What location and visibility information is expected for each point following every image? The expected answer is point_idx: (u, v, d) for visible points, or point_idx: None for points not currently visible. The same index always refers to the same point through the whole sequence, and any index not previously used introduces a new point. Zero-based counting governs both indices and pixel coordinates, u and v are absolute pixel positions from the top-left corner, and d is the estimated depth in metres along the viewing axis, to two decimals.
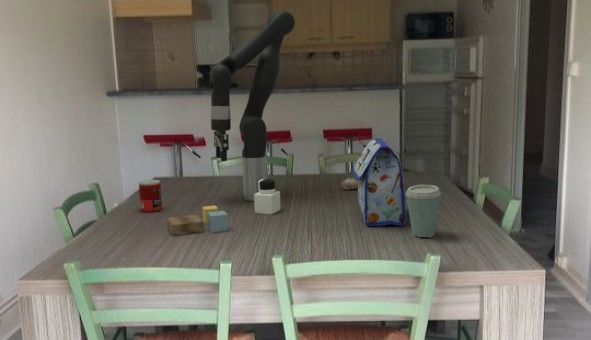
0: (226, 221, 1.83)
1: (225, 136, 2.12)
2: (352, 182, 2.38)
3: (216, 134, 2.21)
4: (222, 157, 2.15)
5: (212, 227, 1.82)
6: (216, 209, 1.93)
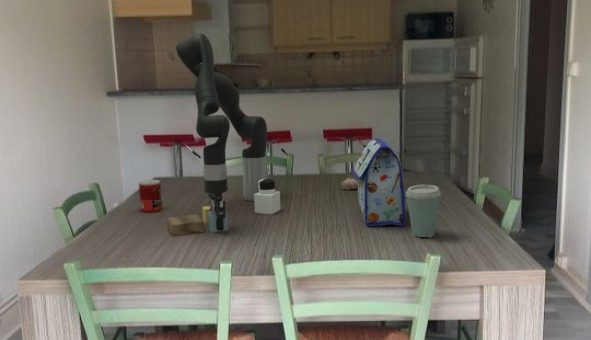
0: (226, 221, 1.83)
1: (221, 204, 1.78)
2: (352, 182, 2.38)
3: (211, 197, 1.86)
4: (218, 226, 1.82)
5: (212, 227, 1.82)
6: None
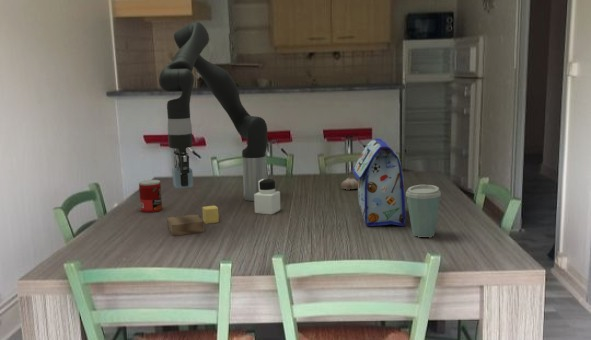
0: (191, 177, 1.81)
1: (185, 158, 1.75)
2: (352, 182, 2.38)
3: (176, 153, 1.84)
4: (182, 182, 1.79)
5: (176, 182, 1.79)
6: (216, 209, 1.93)
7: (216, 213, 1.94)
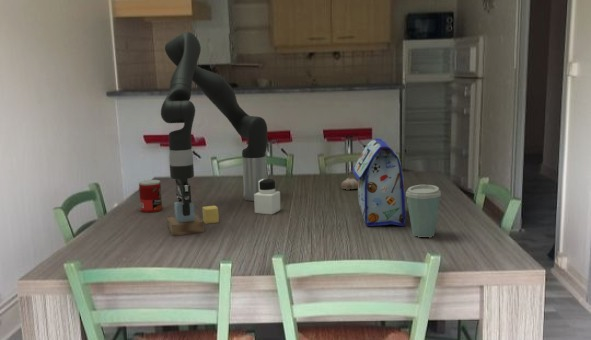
0: (192, 211, 1.83)
1: (186, 187, 1.77)
2: (352, 182, 2.38)
3: (177, 182, 1.85)
4: (184, 211, 1.80)
5: (178, 217, 1.82)
6: (216, 209, 1.93)
7: (216, 213, 1.94)
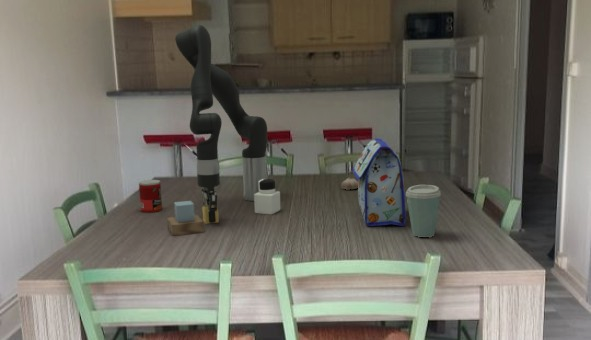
0: (192, 211, 1.83)
1: (213, 198, 1.88)
2: (352, 182, 2.38)
3: (204, 191, 1.96)
4: (210, 218, 1.92)
5: (178, 217, 1.82)
6: None
7: (216, 213, 1.94)
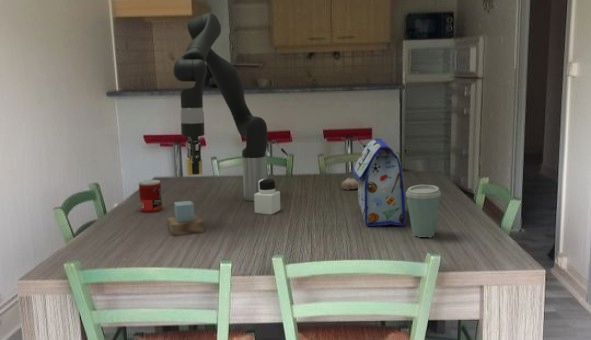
0: (192, 211, 1.83)
1: (197, 147, 1.80)
2: (352, 182, 2.38)
3: None
4: (193, 170, 1.84)
5: (178, 217, 1.82)
6: None
7: (200, 165, 1.86)
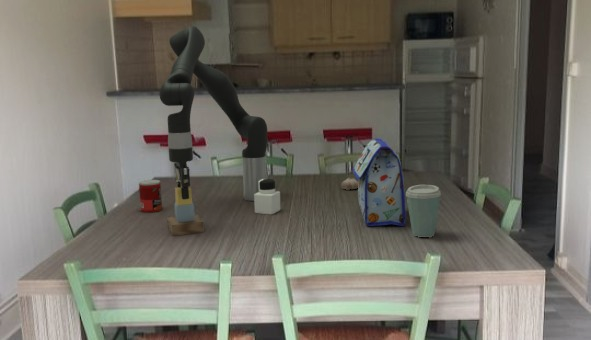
0: (192, 211, 1.83)
1: (185, 171, 1.76)
2: (352, 182, 2.38)
3: (176, 166, 1.84)
4: (183, 195, 1.79)
5: (178, 217, 1.82)
6: (189, 190, 1.82)
7: (189, 194, 1.82)
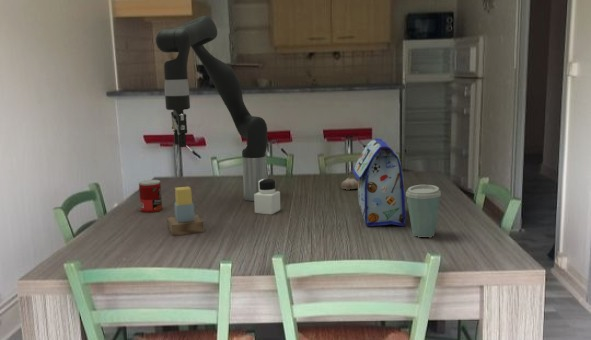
0: (192, 211, 1.83)
1: (182, 116, 1.73)
2: (352, 182, 2.38)
3: (173, 115, 1.81)
4: (180, 142, 1.76)
5: (178, 217, 1.82)
6: (189, 190, 1.82)
7: (189, 194, 1.82)
